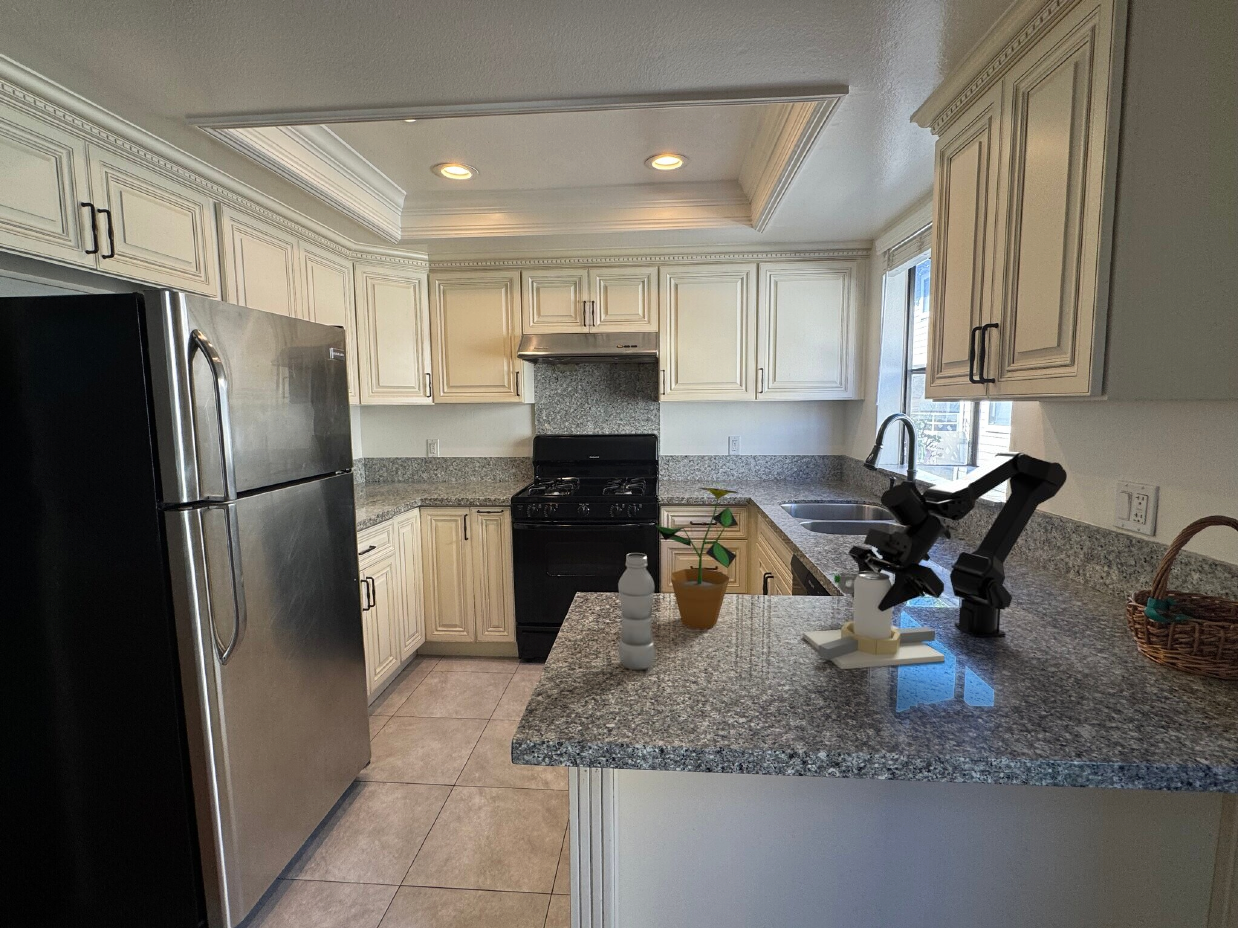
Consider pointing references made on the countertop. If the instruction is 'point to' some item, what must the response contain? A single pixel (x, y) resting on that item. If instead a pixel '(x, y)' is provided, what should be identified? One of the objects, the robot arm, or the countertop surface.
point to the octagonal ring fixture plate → (874, 647)
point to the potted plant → (702, 574)
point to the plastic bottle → (636, 614)
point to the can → (871, 605)
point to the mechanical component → (842, 580)
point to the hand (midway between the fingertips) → (866, 603)
